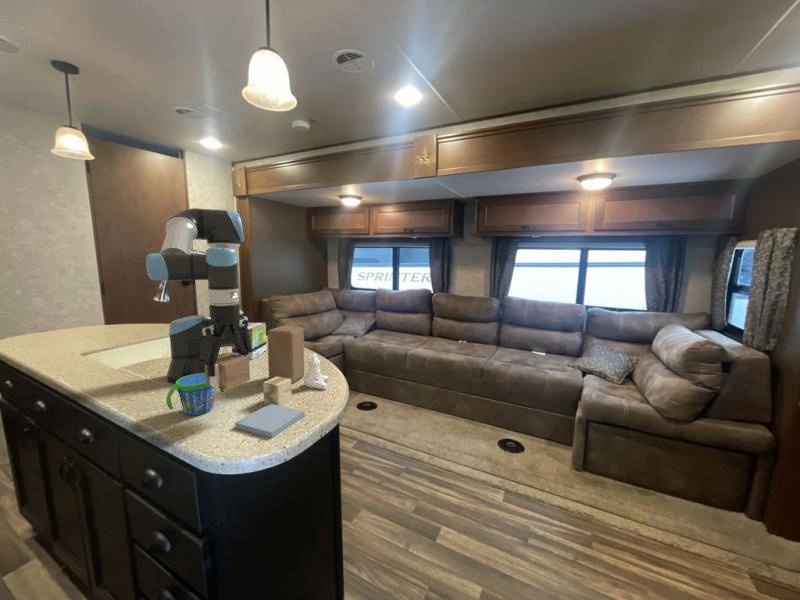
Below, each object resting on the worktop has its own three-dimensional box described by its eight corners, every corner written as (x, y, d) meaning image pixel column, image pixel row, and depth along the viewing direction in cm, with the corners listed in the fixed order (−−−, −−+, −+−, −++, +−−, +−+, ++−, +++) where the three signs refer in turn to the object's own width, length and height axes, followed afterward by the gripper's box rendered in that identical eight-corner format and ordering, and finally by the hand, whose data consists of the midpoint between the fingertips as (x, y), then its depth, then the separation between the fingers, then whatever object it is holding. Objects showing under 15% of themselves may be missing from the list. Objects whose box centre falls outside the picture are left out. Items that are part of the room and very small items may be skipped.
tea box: (253, 360, 150) (252, 328, 148) (231, 359, 150) (230, 328, 148) (267, 351, 165) (266, 322, 163) (247, 350, 165) (246, 321, 163)
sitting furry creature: (326, 390, 117) (326, 357, 115) (301, 391, 115) (301, 358, 114) (328, 380, 126) (328, 350, 124) (305, 381, 125) (304, 350, 123)
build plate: (235, 427, 90) (235, 422, 90) (270, 408, 102) (270, 403, 102) (272, 437, 85) (272, 432, 85) (304, 416, 97) (304, 411, 97)
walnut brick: (206, 385, 93) (204, 361, 92) (230, 375, 100) (229, 353, 99) (226, 390, 90) (225, 365, 89) (249, 379, 97) (248, 357, 96)
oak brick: (264, 403, 105) (263, 382, 104) (277, 396, 111) (276, 376, 110) (278, 406, 103) (278, 385, 102) (291, 399, 109) (291, 379, 108)
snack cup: (174, 426, 90) (171, 390, 89) (162, 414, 97) (160, 381, 96) (232, 407, 102) (231, 376, 101) (218, 398, 109) (217, 368, 107)
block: (292, 385, 121) (291, 331, 118) (268, 382, 123) (266, 330, 120) (305, 375, 131) (304, 326, 128) (282, 373, 132) (281, 325, 130)
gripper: (198, 310, 81) (204, 397, 84) (263, 300, 100) (265, 371, 103) (178, 307, 84) (184, 392, 87) (244, 298, 103) (247, 367, 106)
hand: (228, 380), depth 95 cm, fingers closed on walnut brick, 8 cm apart
